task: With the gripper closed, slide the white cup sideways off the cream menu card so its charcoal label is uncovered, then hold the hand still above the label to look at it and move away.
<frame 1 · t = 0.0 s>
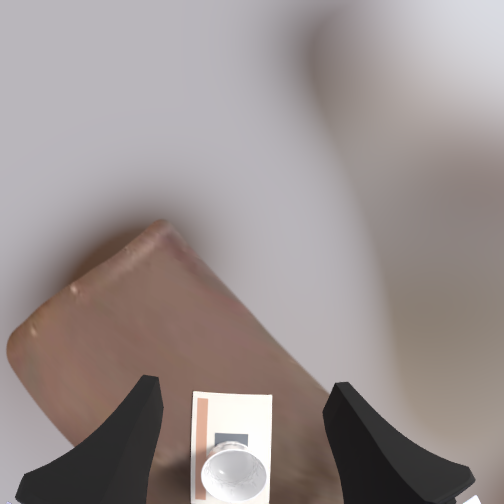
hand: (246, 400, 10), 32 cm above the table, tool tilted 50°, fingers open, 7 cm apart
white cup: (230, 459, 33), resting on menu card
menu card: (231, 453, 33), on the table
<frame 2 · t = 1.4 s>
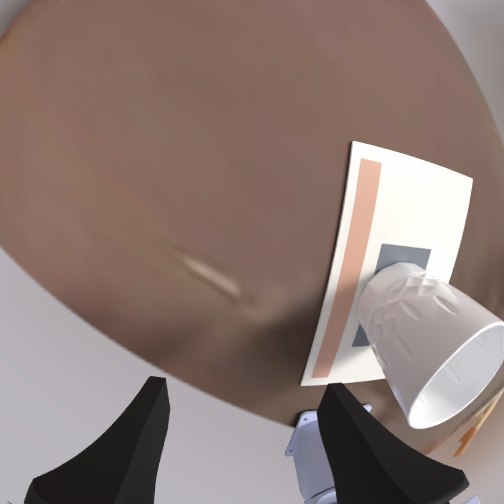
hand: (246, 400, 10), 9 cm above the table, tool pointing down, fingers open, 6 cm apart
white cup: (392, 299, 20), resting on menu card
menu card: (395, 287, 20), on the table
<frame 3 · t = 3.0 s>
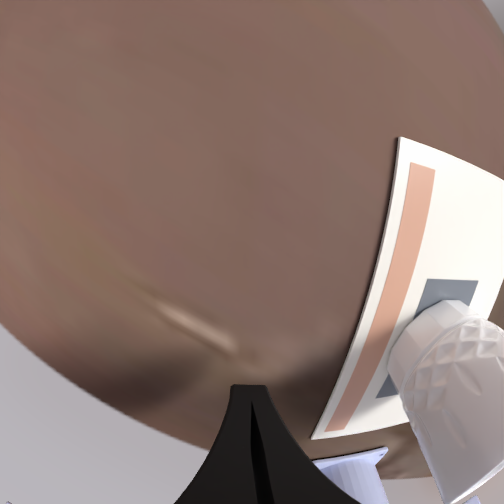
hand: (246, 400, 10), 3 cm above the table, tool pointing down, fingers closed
white cup: (428, 342, 14), resting on menu card
menu card: (434, 329, 14), on the table
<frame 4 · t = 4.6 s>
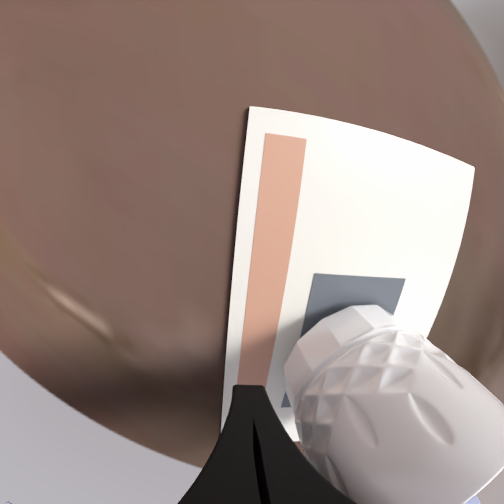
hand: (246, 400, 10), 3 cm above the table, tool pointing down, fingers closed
white cup: (341, 355, 13), resting on menu card, touching gripper
menu card: (344, 335, 13), on the table
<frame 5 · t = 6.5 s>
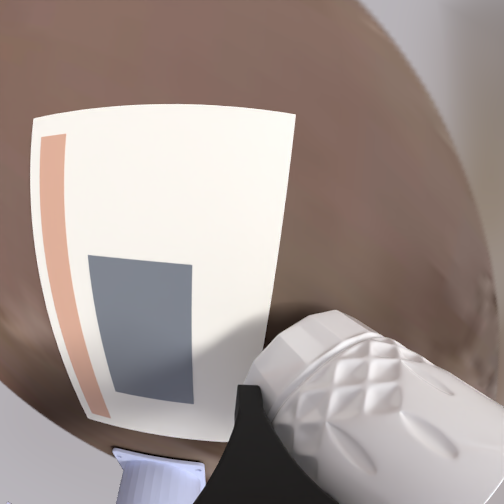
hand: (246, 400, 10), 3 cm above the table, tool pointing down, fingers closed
white cup: (301, 365, 13), point 1 cm above the table, touching gripper
menu card: (142, 324, 13), on the table
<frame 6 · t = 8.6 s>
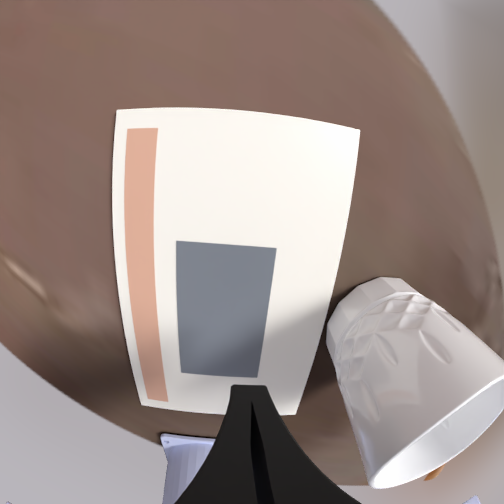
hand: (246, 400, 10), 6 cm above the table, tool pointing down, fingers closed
white cup: (372, 320, 16), on the table
menu card: (222, 303, 15), on the table
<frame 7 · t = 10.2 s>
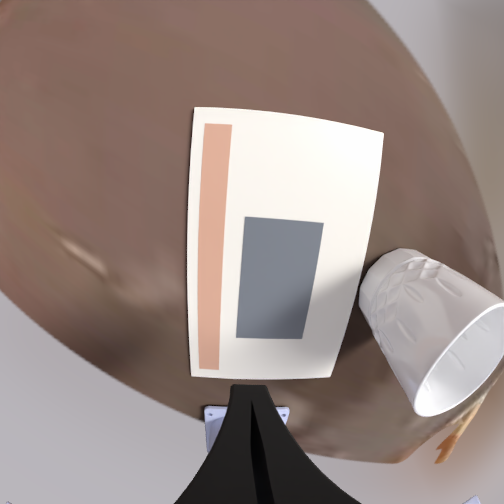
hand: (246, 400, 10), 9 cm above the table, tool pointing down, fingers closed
white cup: (393, 286, 20), on the table
menu card: (278, 270, 18), on the table
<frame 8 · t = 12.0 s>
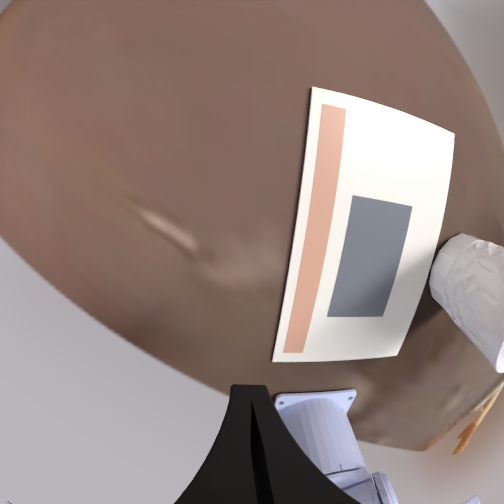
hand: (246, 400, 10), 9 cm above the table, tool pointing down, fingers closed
white cup: (453, 268, 20), on the table
menu card: (373, 248, 18), on the table
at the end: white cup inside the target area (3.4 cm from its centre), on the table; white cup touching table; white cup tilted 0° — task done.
